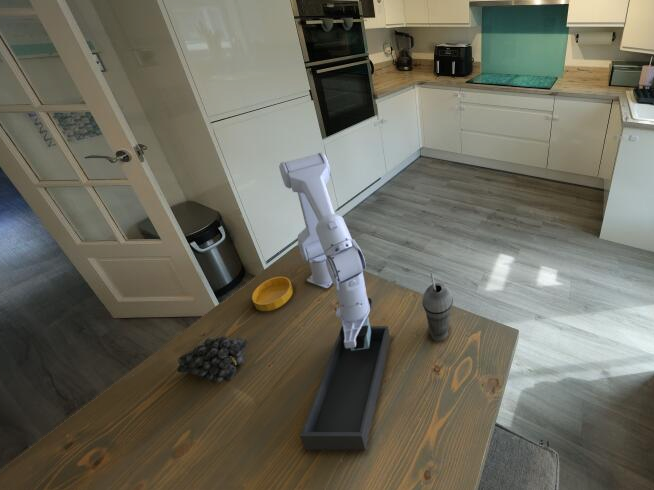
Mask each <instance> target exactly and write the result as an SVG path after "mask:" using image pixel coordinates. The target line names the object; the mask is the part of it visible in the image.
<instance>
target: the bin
mask: <svg viewBox="0 0 654 490" xmlns="http://www.w3.org/2000/svg"><path fill="white" fill-rule="evenodd" d="M341 327H343V325H342V326H341ZM370 328H371V337H370V345H369V348H367V349H360V350H353V351H351V348H345V345H344V340H342V339H341V337H340V331H341V329H339V333H338V335H337V338H336V340H335V343H334V345H333V348H332V351H331V353H330V356H329V357H328V358H329V359H328V361H327V364H326V366H325V368H324V372H323V375H322V376H321V379H320V381H319V384H318V387H317V390H316V393H315V395H314V397H313V401H312V403H311V405H310V408H309V411H308V414H307V416H306V419H305V421H304V424H303V426H302V429H301V432H300V435H299V437H300V440H301V442H302V445H303V448H304V450H305V451H366V449H367V444H368V439H369V436H370V431H371V426H372V423H373V418H374V415H375V414H374V413H375V409H376V404H377V400H378V395H379V390H380V387H381V382H382V377H383V373H384V369H385V364H386V359H387V355H388V350H389V346H390V341H391V338H390V337H391V336H390V329H389V326H388V325H370Z"/></svg>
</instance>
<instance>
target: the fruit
mask: <svg viewBox="0 0 654 490" xmlns="http://www.w3.org/2000/svg"><path fill="white" fill-rule="evenodd" d="M247 345H248V340H247V339H246V338H242V337H236V338H235V337H234V338H229V337H228V336H226V335H222V336H218V337H216V338H214V337H207V338H206V339H205V340H204V342H203V344H200V345H196V346H195V347H194V348H193V349H192V350H188V351H186V352H185V353H184V354H182V355H180V357H178V359H177V363H178V366H177V368H176V370H177V372H178V373H181V375H183V376H186V375H188V374H189V375H194V376H198V379H199V380H206V381H207V382H211V381H212V383H213V384H217V385H218V384H219V383H222V381H223V380H224V381H225V382H226V381H231V380H232V379H234V376H235V374H236V372H237V366H240V365H242V364H243V363H244V362H245V359H246V358H245V356H244V353H245V352H246V349H245V348H246V346H247Z"/></svg>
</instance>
